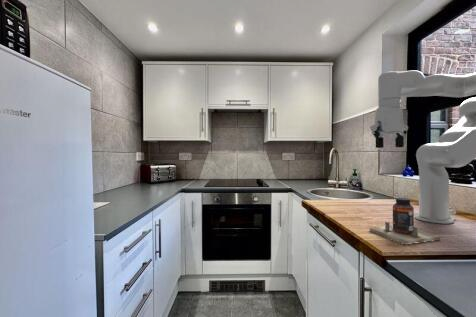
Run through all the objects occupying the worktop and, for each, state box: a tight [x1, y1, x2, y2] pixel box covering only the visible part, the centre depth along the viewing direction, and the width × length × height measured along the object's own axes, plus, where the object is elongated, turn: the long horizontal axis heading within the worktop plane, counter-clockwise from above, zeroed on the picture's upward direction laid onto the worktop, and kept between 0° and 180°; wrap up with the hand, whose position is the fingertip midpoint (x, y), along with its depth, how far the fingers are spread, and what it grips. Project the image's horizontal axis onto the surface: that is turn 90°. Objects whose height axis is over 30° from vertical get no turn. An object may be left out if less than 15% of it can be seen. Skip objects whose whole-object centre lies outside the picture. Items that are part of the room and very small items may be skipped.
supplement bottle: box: [392, 197, 415, 234], centre depth 82 cm, size 6×6×11 cm
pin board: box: [369, 221, 441, 245], centre depth 82 cm, size 14×14×4 cm
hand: (389, 147), depth 96 cm, fingers open, 9 cm apart
